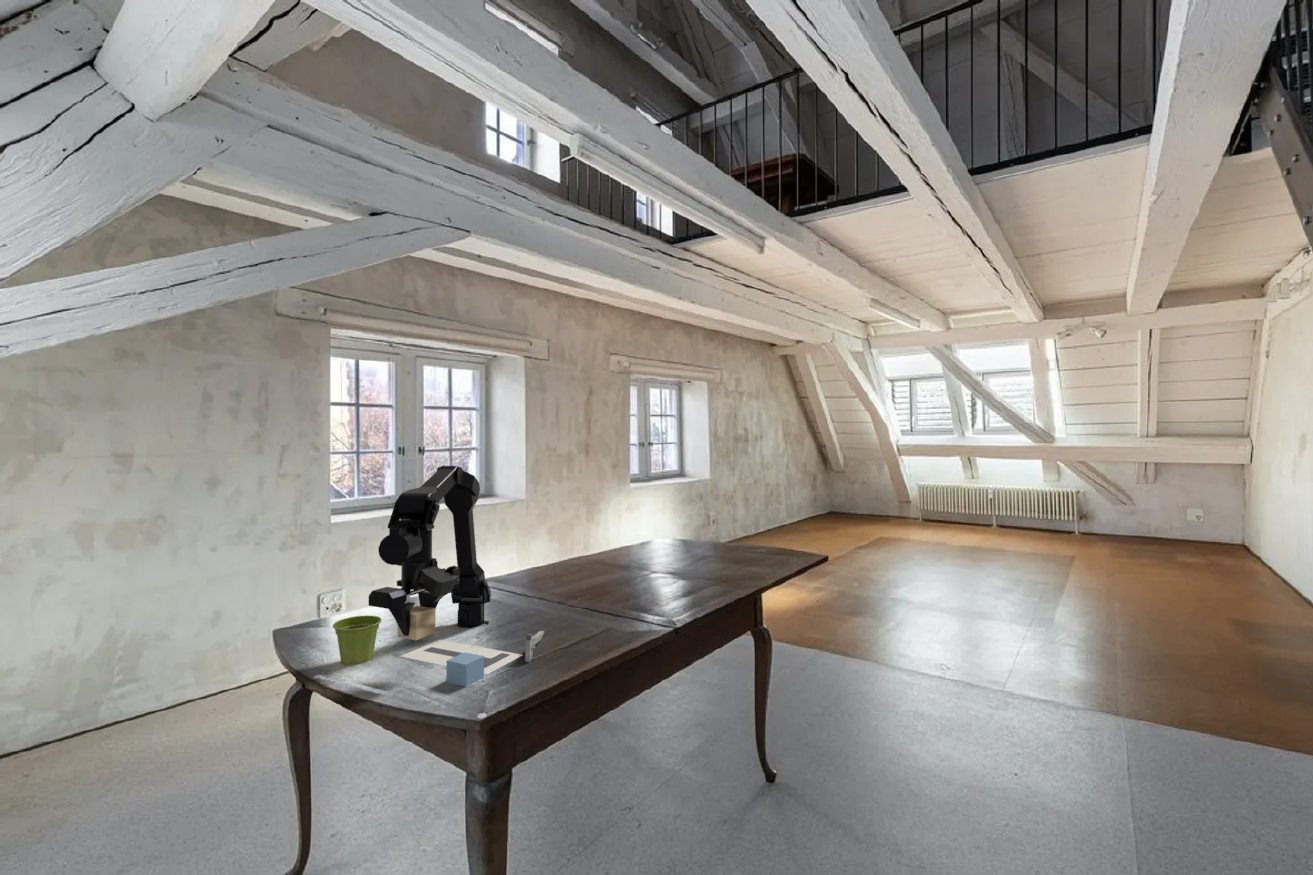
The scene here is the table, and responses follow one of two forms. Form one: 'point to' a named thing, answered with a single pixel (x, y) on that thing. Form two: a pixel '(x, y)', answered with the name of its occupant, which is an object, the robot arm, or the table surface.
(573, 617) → the table surface
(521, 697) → the table surface
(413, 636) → the wood block
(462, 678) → the blue cube
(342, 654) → the plant pot
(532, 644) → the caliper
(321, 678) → the table surface
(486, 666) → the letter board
